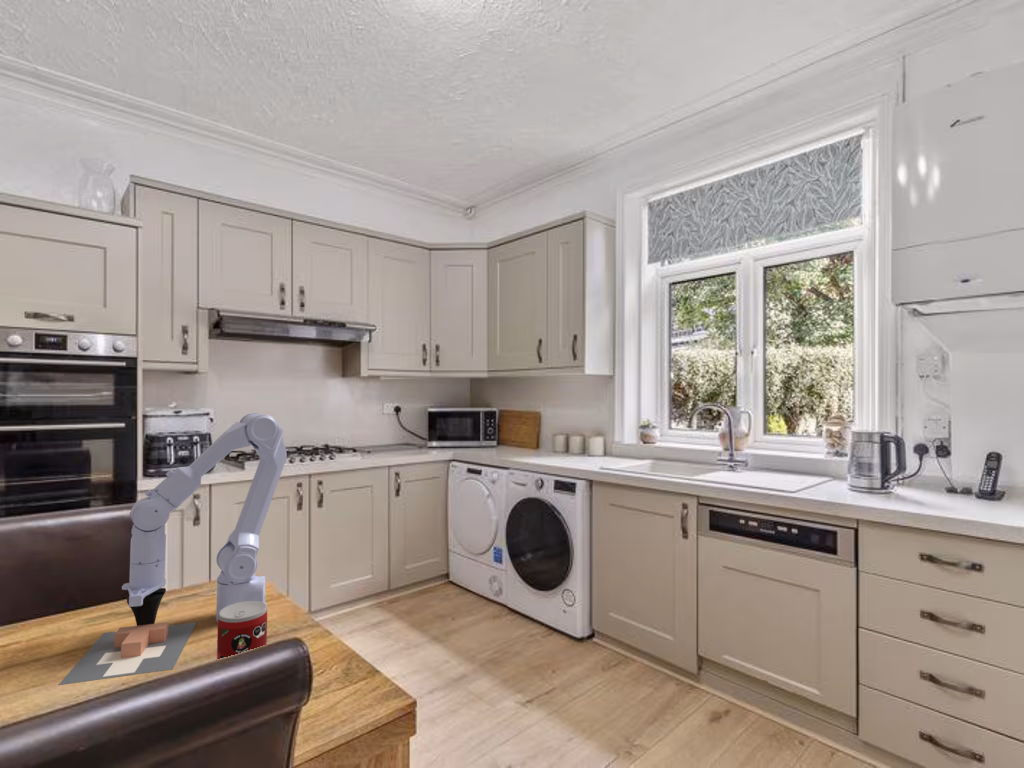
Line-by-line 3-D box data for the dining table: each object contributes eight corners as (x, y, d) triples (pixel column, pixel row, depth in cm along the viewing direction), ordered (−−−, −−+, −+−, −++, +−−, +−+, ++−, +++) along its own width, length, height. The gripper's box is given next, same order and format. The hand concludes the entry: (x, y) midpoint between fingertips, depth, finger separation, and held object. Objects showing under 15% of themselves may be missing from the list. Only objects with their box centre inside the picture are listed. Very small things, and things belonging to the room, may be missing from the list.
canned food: (214, 689, 88) (215, 621, 88) (218, 666, 95) (220, 603, 96) (265, 680, 91) (267, 614, 91) (266, 658, 99) (267, 598, 99)
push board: (196, 627, 111) (196, 622, 111) (172, 674, 92) (172, 669, 92) (103, 638, 106) (103, 633, 106) (57, 691, 87) (58, 684, 87)
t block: (168, 635, 105) (168, 622, 105) (156, 653, 98) (157, 639, 98) (119, 640, 102) (120, 627, 103) (103, 660, 95) (104, 646, 95)
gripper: (135, 551, 111) (133, 618, 110) (109, 573, 97) (107, 650, 97) (175, 548, 113) (173, 614, 113) (155, 570, 99) (153, 644, 99)
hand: (145, 630), depth 105 cm, fingers closed
